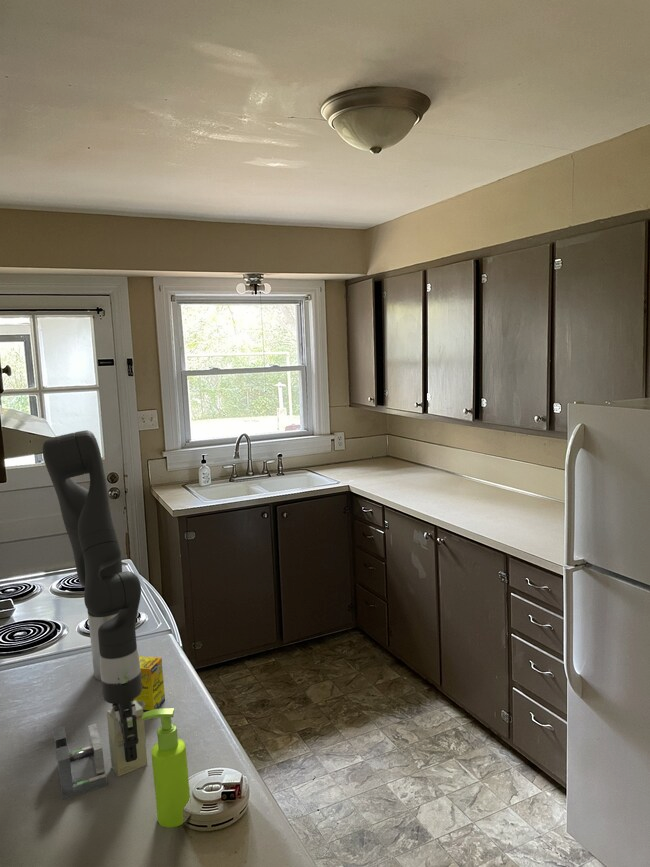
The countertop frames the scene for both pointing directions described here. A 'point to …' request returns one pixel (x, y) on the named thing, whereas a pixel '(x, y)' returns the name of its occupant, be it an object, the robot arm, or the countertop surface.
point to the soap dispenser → (169, 770)
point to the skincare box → (118, 747)
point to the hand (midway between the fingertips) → (128, 750)
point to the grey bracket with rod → (75, 769)
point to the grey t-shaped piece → (92, 751)
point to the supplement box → (151, 683)
